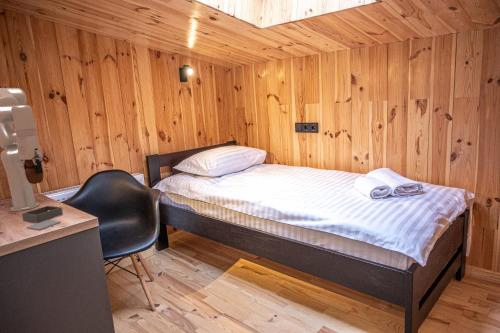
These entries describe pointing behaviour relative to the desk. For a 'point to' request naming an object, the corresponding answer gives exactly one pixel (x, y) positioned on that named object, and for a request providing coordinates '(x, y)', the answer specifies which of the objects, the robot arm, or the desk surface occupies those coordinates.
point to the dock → (42, 214)
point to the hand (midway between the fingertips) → (34, 172)
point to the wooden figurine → (32, 173)
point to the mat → (43, 225)
